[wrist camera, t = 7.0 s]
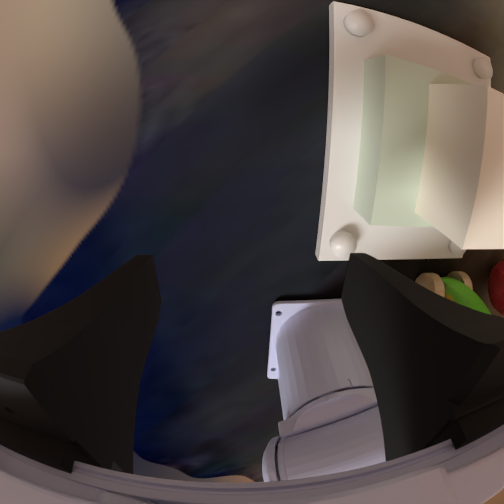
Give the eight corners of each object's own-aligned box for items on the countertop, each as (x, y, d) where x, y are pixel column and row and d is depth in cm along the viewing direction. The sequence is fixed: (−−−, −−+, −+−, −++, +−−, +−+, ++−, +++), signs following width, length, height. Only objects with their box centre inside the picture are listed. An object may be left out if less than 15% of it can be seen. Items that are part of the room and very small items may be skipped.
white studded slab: (456, 252, 22) (481, 275, 19) (315, 254, 22) (329, 284, 18) (482, 58, 14) (515, 58, 10) (328, 5, 13) (349, -15, 10)
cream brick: (458, 215, 16) (505, 249, 12) (414, 212, 16) (462, 249, 12) (474, 100, 13) (530, 109, 8) (428, 83, 12) (487, 85, 8)
